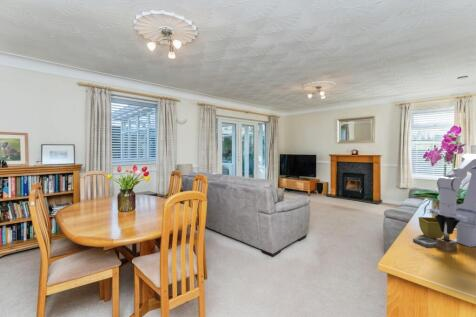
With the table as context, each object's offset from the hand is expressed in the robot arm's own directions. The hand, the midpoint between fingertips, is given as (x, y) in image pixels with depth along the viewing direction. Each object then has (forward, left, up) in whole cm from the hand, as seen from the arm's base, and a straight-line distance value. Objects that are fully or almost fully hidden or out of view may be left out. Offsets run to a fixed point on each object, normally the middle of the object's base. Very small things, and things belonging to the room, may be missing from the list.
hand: (446, 232), depth 104 cm
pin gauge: (0, 0, -3) cm, 3 cm away
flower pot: (-8, -13, -8) cm, 17 cm away
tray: (+3, -7, -8) cm, 10 cm away
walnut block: (0, 0, -8) cm, 8 cm away
